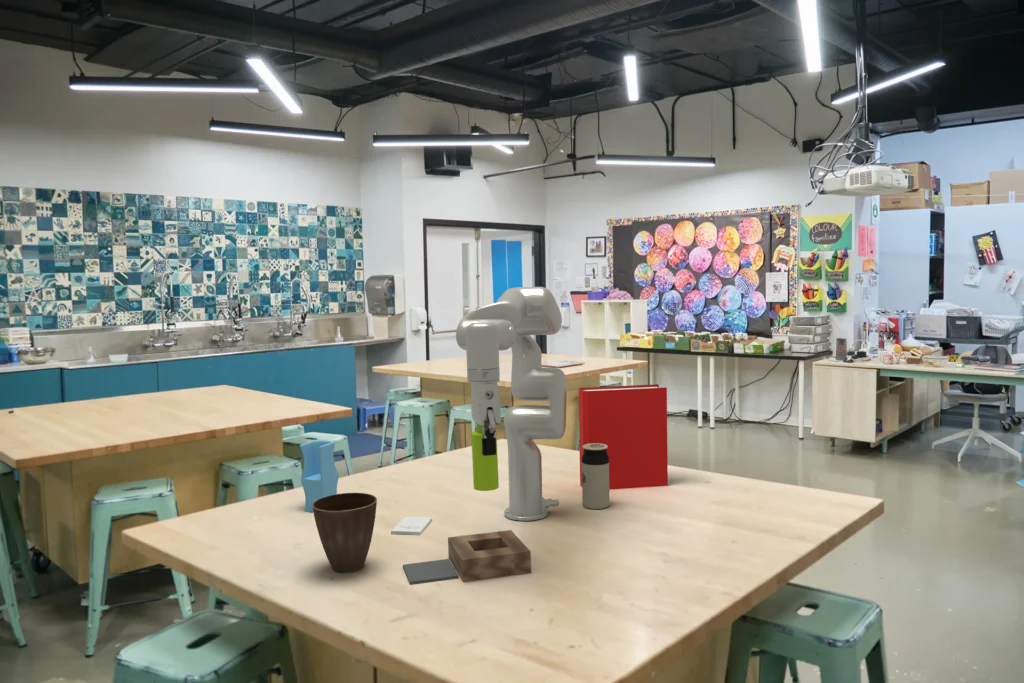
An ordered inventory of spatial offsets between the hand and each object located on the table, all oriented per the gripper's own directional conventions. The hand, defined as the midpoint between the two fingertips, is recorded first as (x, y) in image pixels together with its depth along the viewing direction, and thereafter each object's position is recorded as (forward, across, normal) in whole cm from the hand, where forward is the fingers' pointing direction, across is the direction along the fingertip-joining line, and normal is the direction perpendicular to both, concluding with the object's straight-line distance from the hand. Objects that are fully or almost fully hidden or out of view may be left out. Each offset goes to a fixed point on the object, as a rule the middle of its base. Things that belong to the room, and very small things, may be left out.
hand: (485, 451), depth 178 cm
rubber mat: (+27, 0, +14) cm, 31 cm away
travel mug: (+28, +34, -42) cm, 61 cm away
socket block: (+27, 0, 0) cm, 27 cm away
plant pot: (+27, +10, +32) cm, 43 cm away
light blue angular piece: (+28, +62, +36) cm, 77 cm away
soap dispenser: (+9, 0, 0) cm, 9 cm away
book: (+28, +52, -59) cm, 84 cm away
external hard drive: (+28, +34, +13) cm, 46 cm away
